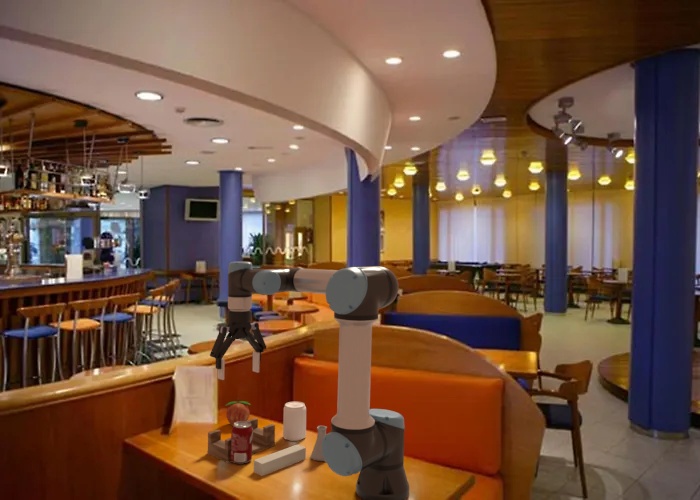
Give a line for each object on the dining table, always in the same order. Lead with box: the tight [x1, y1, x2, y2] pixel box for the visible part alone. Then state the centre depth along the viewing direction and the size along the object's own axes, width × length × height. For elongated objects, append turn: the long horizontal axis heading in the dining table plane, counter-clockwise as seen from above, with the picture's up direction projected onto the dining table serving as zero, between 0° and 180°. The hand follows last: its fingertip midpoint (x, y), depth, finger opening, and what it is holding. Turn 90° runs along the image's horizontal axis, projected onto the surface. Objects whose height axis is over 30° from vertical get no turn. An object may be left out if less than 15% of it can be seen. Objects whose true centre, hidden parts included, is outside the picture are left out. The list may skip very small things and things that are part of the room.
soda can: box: [230, 420, 253, 465], centre depth 177 cm, size 7×7×12 cm
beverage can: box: [282, 401, 307, 442], centre depth 199 cm, size 8×8×12 cm
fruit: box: [224, 398, 252, 427], centre depth 211 cm, size 9×10×10 cm
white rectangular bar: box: [253, 443, 307, 477], centre depth 175 cm, size 18×4×4 cm, turn 138°
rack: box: [206, 417, 276, 464], centre depth 187 cm, size 20×11×7 cm, turn 140°
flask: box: [310, 425, 328, 462], centre depth 182 cm, size 7×7×10 cm
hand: (238, 375), depth 178 cm, fingers open, 13 cm apart
